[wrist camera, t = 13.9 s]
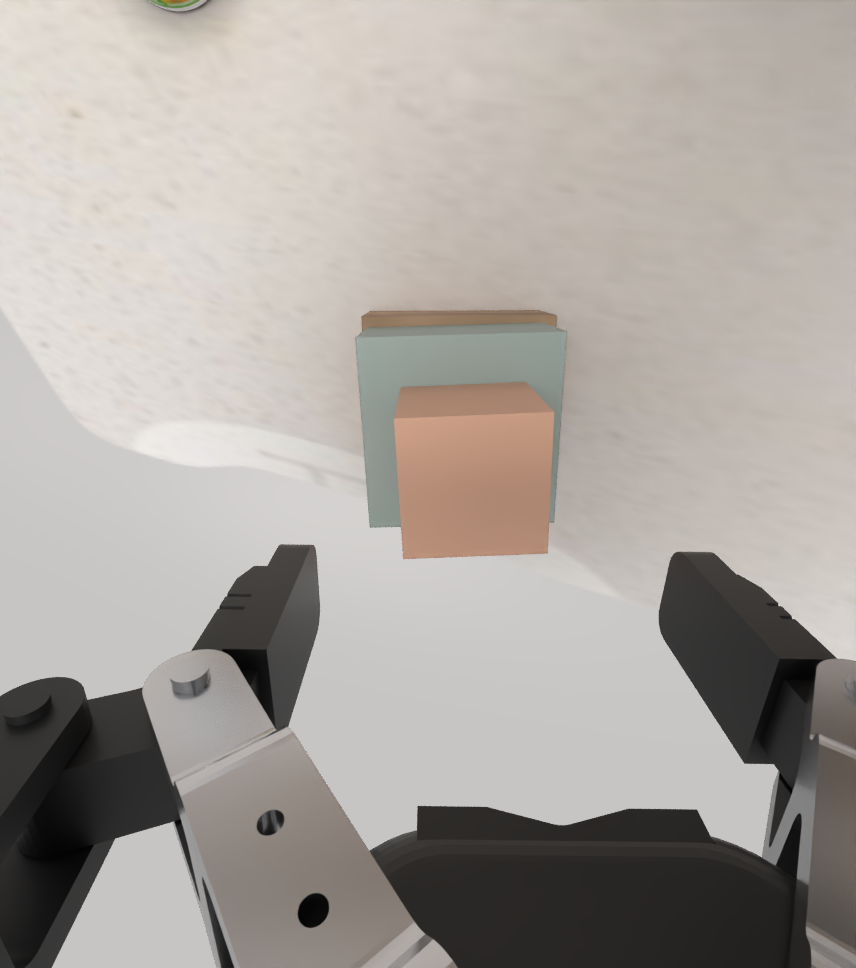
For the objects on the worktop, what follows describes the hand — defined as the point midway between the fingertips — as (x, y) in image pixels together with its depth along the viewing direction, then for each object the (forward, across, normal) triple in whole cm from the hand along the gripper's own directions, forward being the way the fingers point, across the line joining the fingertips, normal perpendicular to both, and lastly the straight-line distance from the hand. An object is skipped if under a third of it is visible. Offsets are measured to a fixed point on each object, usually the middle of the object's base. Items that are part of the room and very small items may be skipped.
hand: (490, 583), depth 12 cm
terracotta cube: (+13, 0, +1) cm, 13 cm away
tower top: (+18, 0, 0) cm, 18 cm away
